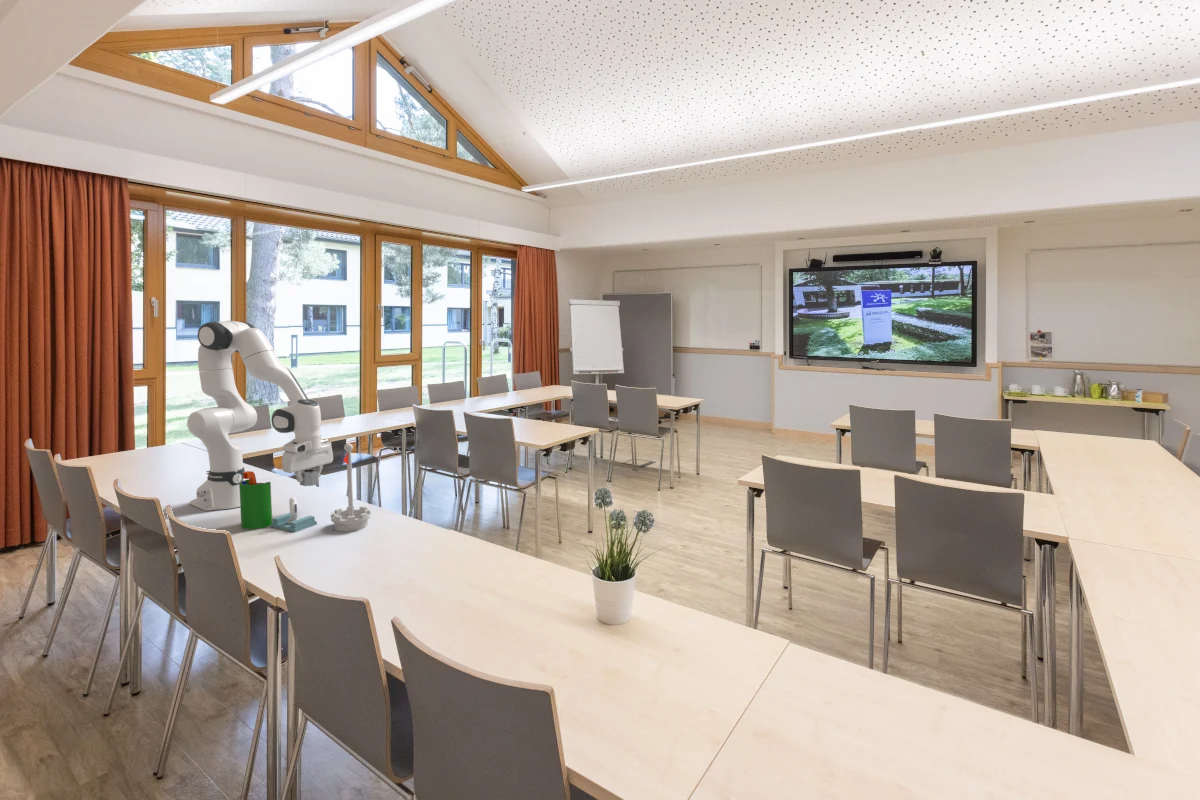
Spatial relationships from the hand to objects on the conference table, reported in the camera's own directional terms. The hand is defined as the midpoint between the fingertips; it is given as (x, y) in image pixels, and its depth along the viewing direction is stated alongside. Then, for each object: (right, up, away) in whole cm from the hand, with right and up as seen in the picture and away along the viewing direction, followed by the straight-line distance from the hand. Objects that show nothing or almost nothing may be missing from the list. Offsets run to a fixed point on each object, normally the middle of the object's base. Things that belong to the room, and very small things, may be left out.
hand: (308, 479), depth 232 cm
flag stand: (+21, -15, -12) cm, 28 cm away
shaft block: (+1, -15, -13) cm, 20 cm away
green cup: (-13, -15, -13) cm, 23 cm away
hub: (0, -2, 0) cm, 2 cm away
